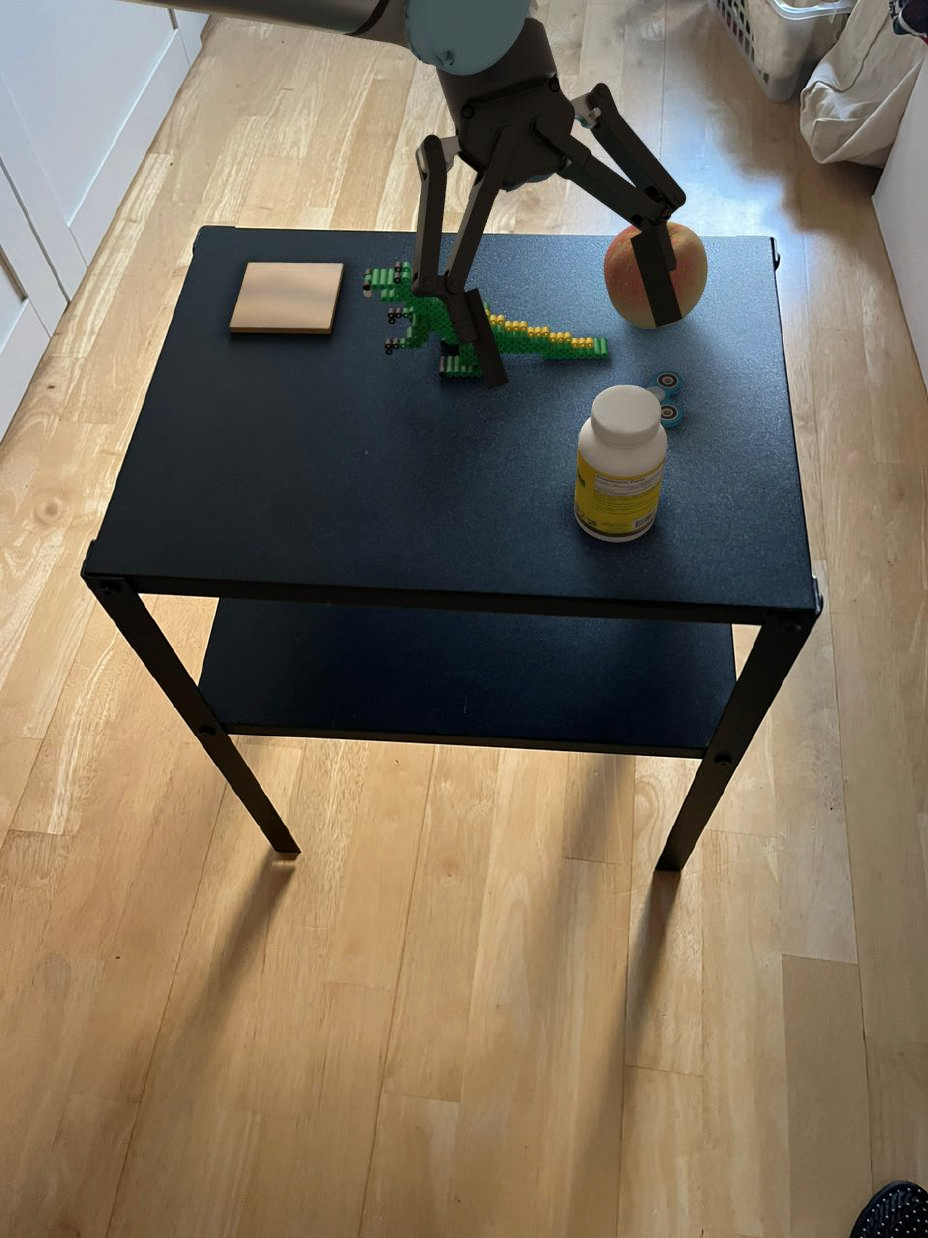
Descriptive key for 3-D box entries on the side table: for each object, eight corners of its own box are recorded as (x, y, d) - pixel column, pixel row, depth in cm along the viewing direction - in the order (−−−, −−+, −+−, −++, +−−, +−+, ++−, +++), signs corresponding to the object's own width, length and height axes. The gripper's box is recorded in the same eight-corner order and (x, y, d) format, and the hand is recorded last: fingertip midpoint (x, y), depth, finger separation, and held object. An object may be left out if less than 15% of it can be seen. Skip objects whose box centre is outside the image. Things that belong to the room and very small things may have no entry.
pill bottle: (582, 476, 81) (590, 369, 72) (661, 490, 80) (680, 383, 71) (565, 537, 78) (571, 432, 69) (647, 553, 77) (665, 448, 67)
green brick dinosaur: (605, 328, 90) (613, 241, 83) (609, 374, 87) (617, 288, 80) (377, 332, 92) (365, 247, 84) (372, 378, 88) (359, 293, 81)
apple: (609, 350, 89) (617, 272, 82) (592, 284, 94) (598, 205, 87) (710, 340, 89) (726, 261, 82) (688, 274, 94) (701, 195, 87)
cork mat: (330, 333, 92) (329, 328, 91) (230, 332, 92) (229, 326, 92) (344, 268, 97) (343, 263, 96) (249, 267, 97) (248, 262, 97)
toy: (613, 373, 87) (614, 364, 86) (681, 377, 87) (683, 368, 86) (610, 426, 84) (611, 417, 83) (681, 430, 83) (682, 421, 82)
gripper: (628, 14, 74) (711, 307, 79) (301, 110, 69) (410, 416, 74) (677, -35, 67) (765, 289, 72) (316, 68, 62) (436, 410, 67)
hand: (585, 354), depth 73 cm, fingers open, 13 cm apart
